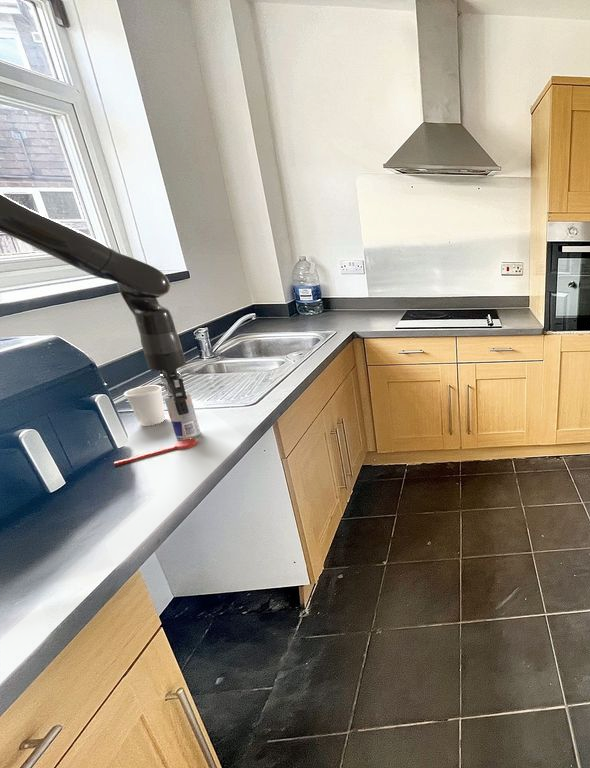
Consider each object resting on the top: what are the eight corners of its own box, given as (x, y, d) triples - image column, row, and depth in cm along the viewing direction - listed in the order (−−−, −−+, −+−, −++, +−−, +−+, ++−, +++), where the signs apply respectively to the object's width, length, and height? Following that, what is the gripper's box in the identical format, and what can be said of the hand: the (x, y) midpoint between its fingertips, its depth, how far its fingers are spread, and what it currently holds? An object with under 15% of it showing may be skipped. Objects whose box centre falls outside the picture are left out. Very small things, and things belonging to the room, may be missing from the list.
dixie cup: (176, 420, 122) (166, 388, 119) (140, 430, 116) (129, 397, 112) (164, 413, 126) (155, 383, 123) (130, 423, 120) (118, 391, 117)
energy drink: (178, 433, 114) (166, 393, 110) (202, 429, 116) (191, 389, 112) (174, 442, 109) (161, 399, 105) (199, 437, 112) (187, 396, 108)
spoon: (115, 468, 97) (114, 465, 96) (114, 462, 100) (112, 458, 99) (198, 445, 108) (197, 442, 107) (194, 439, 110) (193, 436, 110)
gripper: (139, 347, 106) (158, 407, 112) (148, 357, 97) (168, 423, 103) (175, 342, 112) (192, 400, 117) (187, 351, 102) (204, 414, 108)
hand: (181, 410), depth 110 cm, fingers closed on energy drink, 5 cm apart
